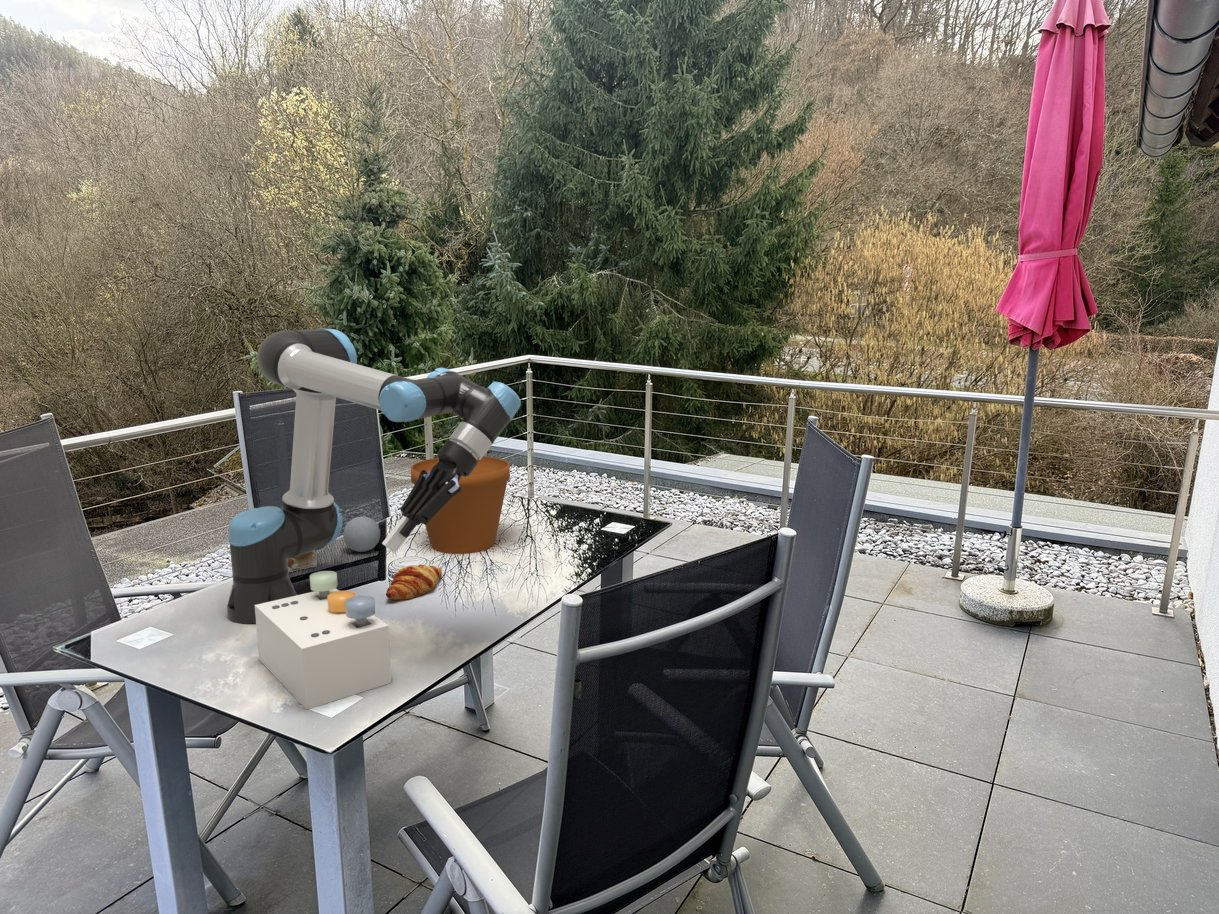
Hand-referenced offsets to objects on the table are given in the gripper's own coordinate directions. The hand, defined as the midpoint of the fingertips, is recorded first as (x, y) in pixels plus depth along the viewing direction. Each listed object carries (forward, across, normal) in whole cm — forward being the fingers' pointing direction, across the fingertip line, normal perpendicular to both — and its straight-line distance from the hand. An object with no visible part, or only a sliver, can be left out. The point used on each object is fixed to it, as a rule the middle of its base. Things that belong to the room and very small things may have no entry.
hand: (388, 548), depth 153 cm
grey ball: (-1, +75, -36) cm, 84 cm away
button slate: (+15, 0, -6) cm, 16 cm away
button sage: (+15, +18, -6) cm, 24 cm away
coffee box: (+13, +73, -22) cm, 77 cm away
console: (+25, +9, -10) cm, 29 cm away
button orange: (+16, +9, -7) cm, 19 cm away
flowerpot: (-19, +63, -54) cm, 85 cm away
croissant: (+1, +38, -35) cm, 51 cm away
